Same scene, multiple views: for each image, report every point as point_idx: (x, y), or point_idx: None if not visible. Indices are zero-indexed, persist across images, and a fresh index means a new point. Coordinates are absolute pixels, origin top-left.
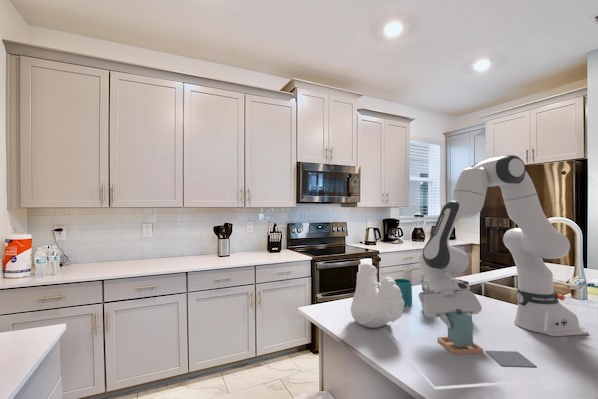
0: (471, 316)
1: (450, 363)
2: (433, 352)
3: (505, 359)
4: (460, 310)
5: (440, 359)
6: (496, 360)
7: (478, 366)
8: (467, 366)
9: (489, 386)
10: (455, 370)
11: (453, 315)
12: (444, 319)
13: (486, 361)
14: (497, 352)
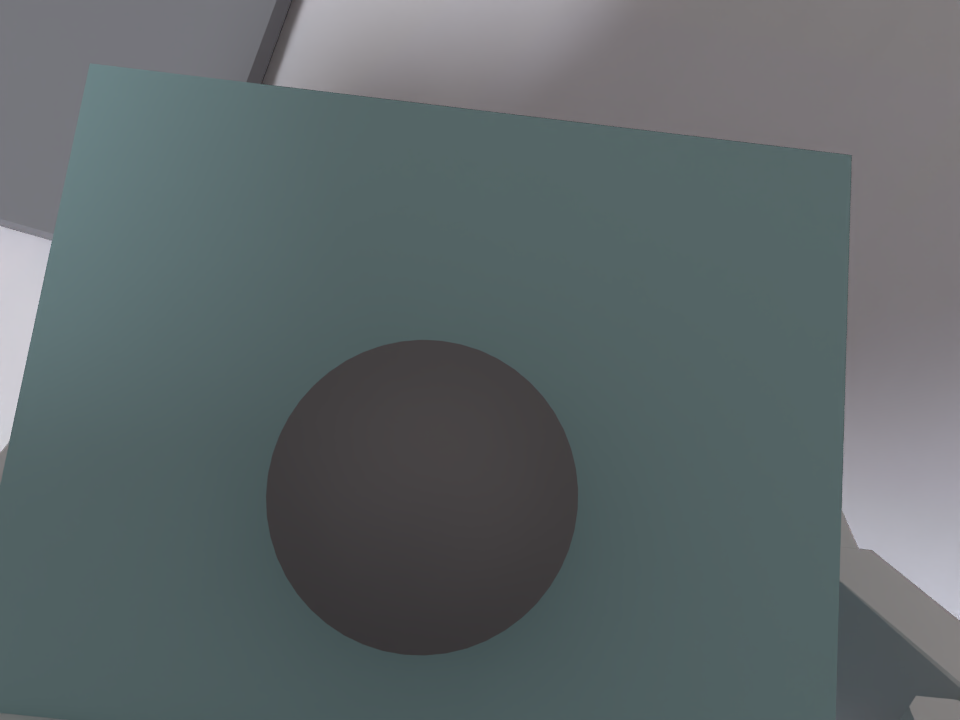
0: (123, 83)
1: (879, 158)
2: (947, 476)
3: (121, 3)
4: (414, 362)
5: (955, 275)
6: (267, 9)
7: (568, 21)
8: (707, 51)
9: None
10: (915, 11)
11: (832, 378)
12: (951, 654)
13: (369, 94)
14: (48, 181)
